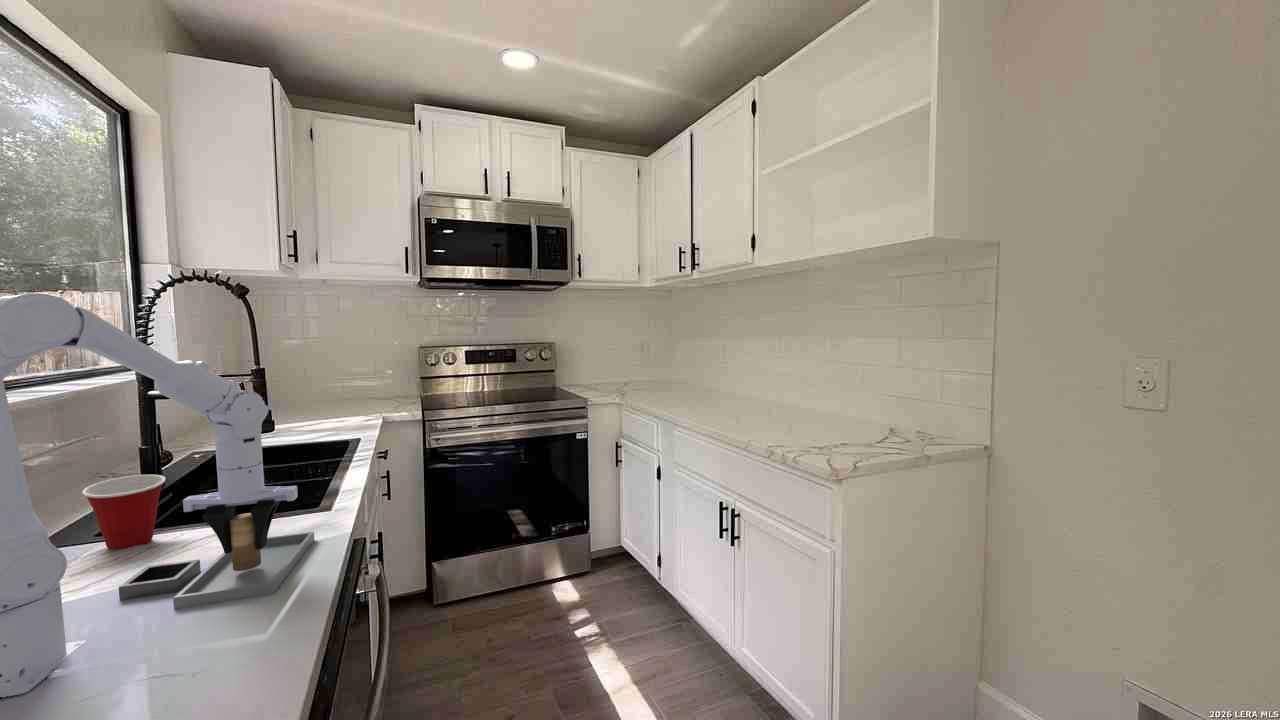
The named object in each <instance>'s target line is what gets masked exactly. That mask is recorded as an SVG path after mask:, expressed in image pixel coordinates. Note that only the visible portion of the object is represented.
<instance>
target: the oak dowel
mask: <svg viewBox="0 0 1280 720" xmlns="http://www.w3.org/2000/svg"><path fill="white" fill-rule="evenodd" d="M230 534H231V549H232V563H233V570H234V571H244V570H249V569H252V568H255V567H257V566H259V565H260V564H261V551H260V549H258V550H257V549H256V542H255V526H254V521H253V517H252V514H251V512H248V513H240V514H237V515H235V516H234V517H232V518H230Z"/></svg>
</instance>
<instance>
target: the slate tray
mask: <svg viewBox="0 0 1280 720" xmlns="http://www.w3.org/2000/svg"><path fill="white" fill-rule="evenodd" d="M314 542H315V531H309V532H308V531H307V532H302V533H300V532H299V533H292V534H284V535H277V536H270V537H269V536H267V543H266V545H265V546H264V547H263V548H262V549H260V551H261V564H260V565H259V566H257V567H255V568H252V569H249V570H244V571H234V570H233V563H232V552H230V553H227V554H225V553H224V552H222V553H221V554H220V555H219V556H218V557H217V558H216V559H215V560H213V562H212V563H210V564H209V565H208V566H207V567H206V568H205V569H203V570H202V572H200V573H199V574H198V575H196V576H195V577H194V578H193V579H192V580H191V581H190V582H189V583H187V584H186V585H185V586H184V587H183V588H182V589H181V590H180V591H179V592H177V594H176V595H174V596H173V599H172V600H173V609H174V610H179V609H184V608H192V607H198V606H199V607H200V606H204V605H212V604H217V603H224V602H230V601H237V600H244V599H250V598H257V597H263V596H268V595H274V594H275V595H276V593H277V591H278V590H279V589H280V588H281V586H282V585H283V583H284V582H285V581H286V580H287V578H288V577H289V576H290V574H291V572H292V571H293V570H294V569H295V567H296V566H297V564H298V563H299V562H300V561H301V559H302V558H303V556H304V555H305V554H306V552H307V551H308V550H309V548H310V547H311V546H312V545H313V543H314Z"/></svg>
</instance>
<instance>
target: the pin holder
mask: <svg viewBox="0 0 1280 720" xmlns="http://www.w3.org/2000/svg"><path fill="white" fill-rule="evenodd" d="M200 573H201V560H200V559H193V560H184V561H178V562H176V561H175V562H170V563H164V564H163V563H162V564H156V565H147V566H145V567H144V568H143V569H141V570H140V571H138V572H137V573H136V574H134V575H133V576H131V578H129V579H128V580H126V581H125V582H123V583H122V584H121V585H119V586H118V594H119V595H118V596H119V601H120V602H121V601H127V600H134V599H141V598H148V597H155V596H160V595H169V594H175V593H179V592H180V591H181V590H183V589H184V588H185V587H186V586H187V585H188V584H189V583H190V582H191V581H193V580H194V579H195V578H196V577H197V576H198V575H199V574H200Z"/></svg>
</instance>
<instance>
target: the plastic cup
mask: <svg viewBox="0 0 1280 720" xmlns="http://www.w3.org/2000/svg"><path fill="white" fill-rule="evenodd" d="M165 482H166V476H164V475H162V474H161V475H160V474H136V475H135V474H134V475H127V476H122V477H117V478H112V479H111V478H110V479H107V480H103V481H99V482H96V483H94V484H91V485H89V486H86V487H85V488H84V489H82V491H81V493H82V495H83V496H85V498H87V500H88V502H89V504H90V506H91V508H92V511H93V513H94V516H95V519H96V523H97V525H98V527H99V531H100V534H101V535H102V537H103V541H104V543H105V546H106V548H107V550H119V549H120V550H121V549H123V550H124V549H126V548H127V549H128V548H132V547H137V546H144V545H149V544H150V543H151V542H153V541H152V540H153V537H154V531H155V524H156V521H157V513H158V507H159V499H160V495H161V492H162V491H161V490H162V488H163V487H162V486H163V484H165Z"/></svg>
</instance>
